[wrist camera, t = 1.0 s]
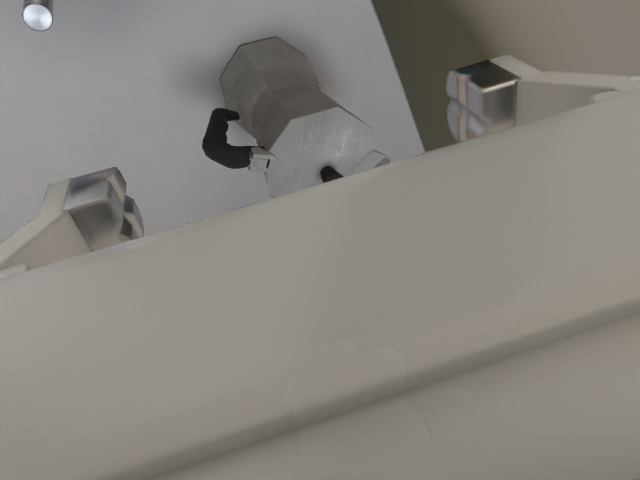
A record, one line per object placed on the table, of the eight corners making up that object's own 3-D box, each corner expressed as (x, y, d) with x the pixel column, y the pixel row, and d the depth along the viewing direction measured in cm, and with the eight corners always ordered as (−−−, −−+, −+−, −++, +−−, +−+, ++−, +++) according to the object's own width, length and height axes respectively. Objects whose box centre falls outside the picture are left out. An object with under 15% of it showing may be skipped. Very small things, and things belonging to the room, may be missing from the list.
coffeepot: (339, 45, 51) (432, 133, 38) (314, 132, 56) (389, 234, 44) (179, 18, 44) (228, 114, 32) (168, 120, 49) (206, 237, 37)
